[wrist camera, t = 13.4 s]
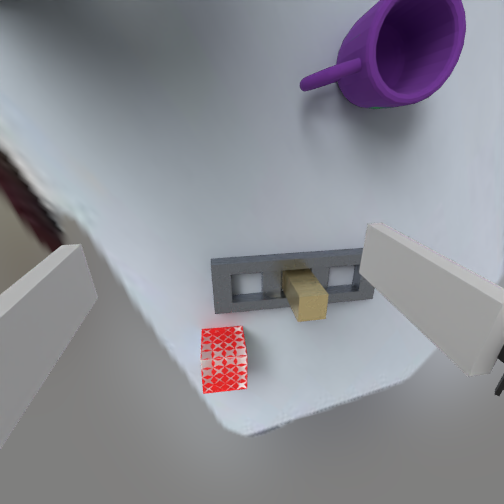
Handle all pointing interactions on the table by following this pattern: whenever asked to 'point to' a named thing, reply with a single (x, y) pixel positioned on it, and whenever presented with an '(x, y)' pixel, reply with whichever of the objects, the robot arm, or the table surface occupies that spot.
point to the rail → (272, 278)
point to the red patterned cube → (223, 359)
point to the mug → (397, 53)
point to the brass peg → (304, 294)
